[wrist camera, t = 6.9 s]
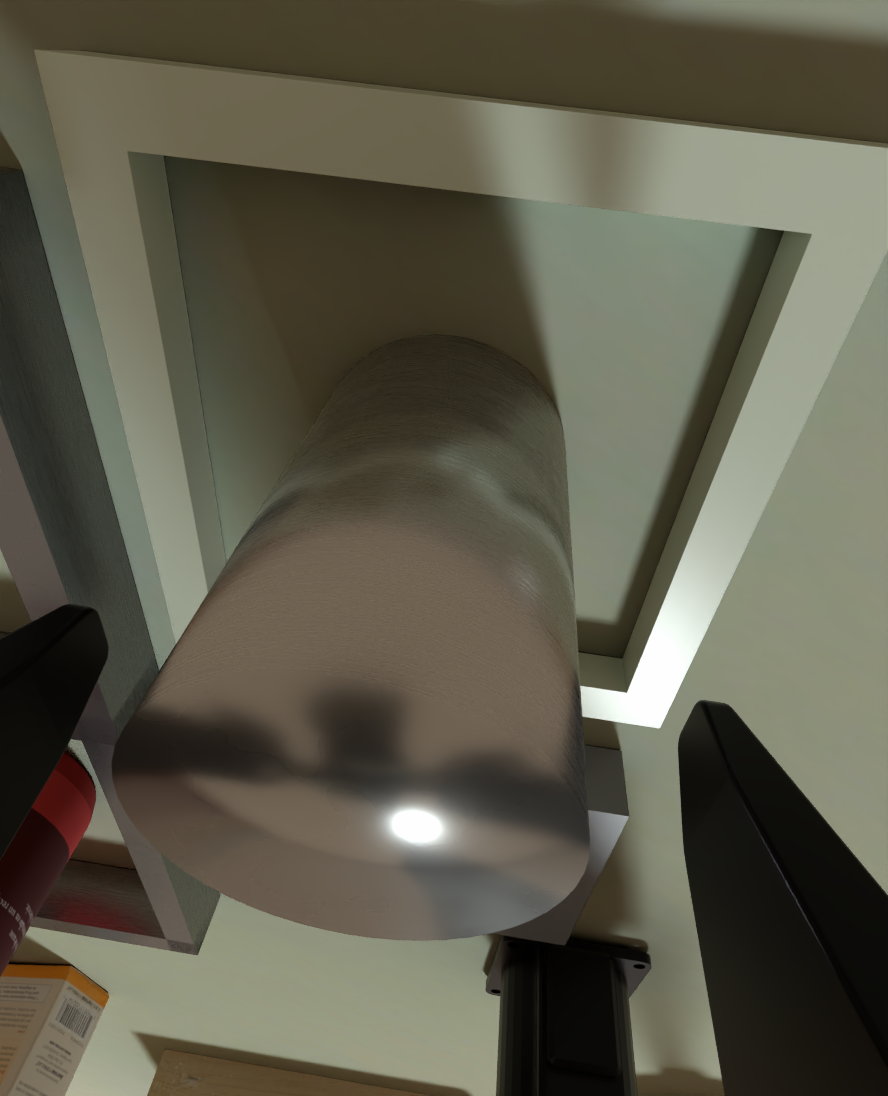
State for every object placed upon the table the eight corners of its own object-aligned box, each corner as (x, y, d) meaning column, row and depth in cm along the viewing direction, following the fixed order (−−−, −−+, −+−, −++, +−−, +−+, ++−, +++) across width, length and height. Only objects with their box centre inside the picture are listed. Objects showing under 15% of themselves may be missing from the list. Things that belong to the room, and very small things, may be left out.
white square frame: (653, 693, 18) (659, 728, 17) (196, 624, 19) (178, 654, 18) (896, 144, 10) (933, 153, 9) (78, 50, 11) (33, 48, 10)
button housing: (563, 885, 26) (564, 945, 24) (340, 848, 26) (326, 905, 24) (621, 750, 20) (628, 816, 18) (337, 706, 20) (319, 767, 19)
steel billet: (540, 566, 16) (541, 966, 9) (325, 535, 16) (159, 902, 9) (590, 353, 13) (653, 724, 6) (319, 318, 13) (50, 631, 6)
